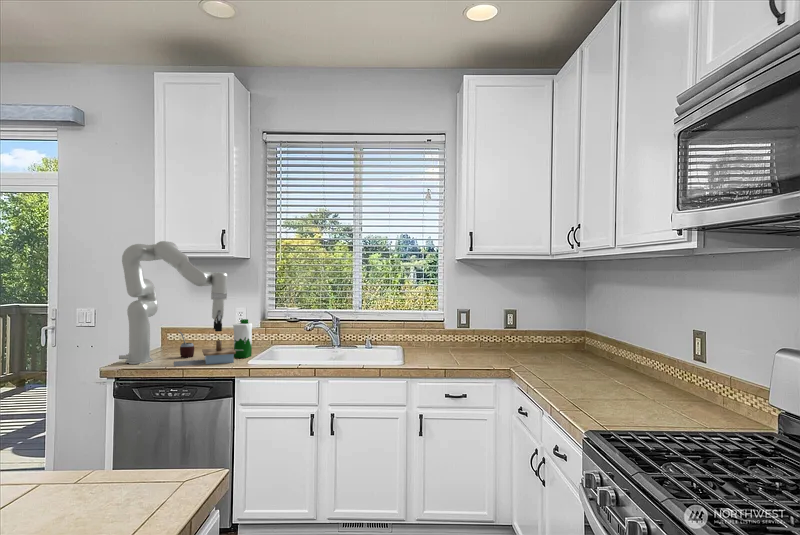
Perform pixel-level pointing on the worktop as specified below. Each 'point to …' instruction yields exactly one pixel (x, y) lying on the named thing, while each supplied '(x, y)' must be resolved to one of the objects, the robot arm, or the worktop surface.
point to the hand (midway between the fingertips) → (217, 330)
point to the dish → (219, 359)
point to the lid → (218, 350)
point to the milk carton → (243, 339)
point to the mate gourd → (186, 349)
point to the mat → (189, 362)
